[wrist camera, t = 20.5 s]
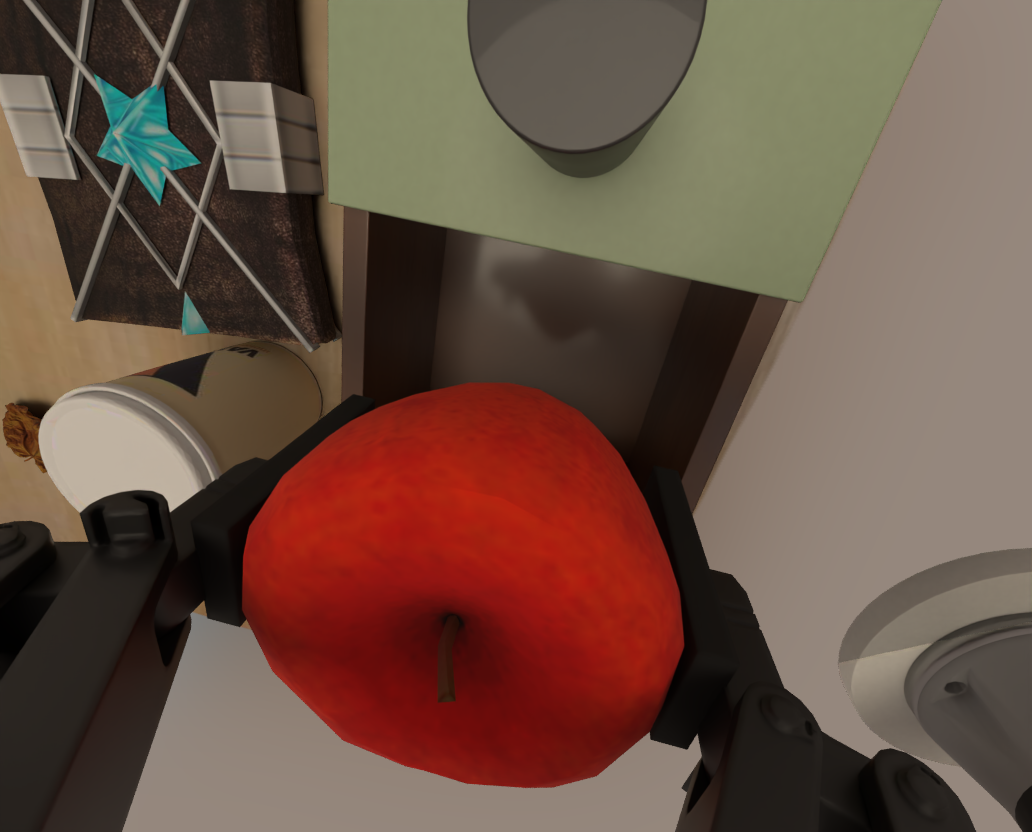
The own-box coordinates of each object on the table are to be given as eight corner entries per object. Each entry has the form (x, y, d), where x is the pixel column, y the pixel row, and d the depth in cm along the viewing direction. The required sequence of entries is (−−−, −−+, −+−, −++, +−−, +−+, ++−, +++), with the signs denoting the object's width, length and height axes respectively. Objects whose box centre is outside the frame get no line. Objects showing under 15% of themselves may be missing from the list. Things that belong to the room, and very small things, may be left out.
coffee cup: (286, 308, 30) (117, 364, 20) (356, 427, 33) (243, 531, 23) (189, 355, 33) (-6, 426, 22) (262, 461, 36) (122, 568, 25)
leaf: (-3, 411, 39) (-26, 422, 37) (33, 388, 36) (9, 399, 35) (61, 469, 41) (41, 481, 40) (99, 451, 39) (79, 463, 37)
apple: (352, 505, 17) (176, 722, 10) (422, 279, 13) (213, 368, 6) (572, 601, 17) (557, 880, 10) (705, 410, 13) (836, 645, 6)
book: (345, 338, 31) (302, 360, 26) (124, 314, 32) (49, 332, 28) (299, -110, 21) (221, -194, 17) (-6, -106, 23) (-149, -181, 19)
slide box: (637, 470, 31) (658, 591, 21) (417, 417, 32) (339, 509, 22) (757, 139, 23) (884, 86, 13) (449, 80, 24) (345, -12, 14)
